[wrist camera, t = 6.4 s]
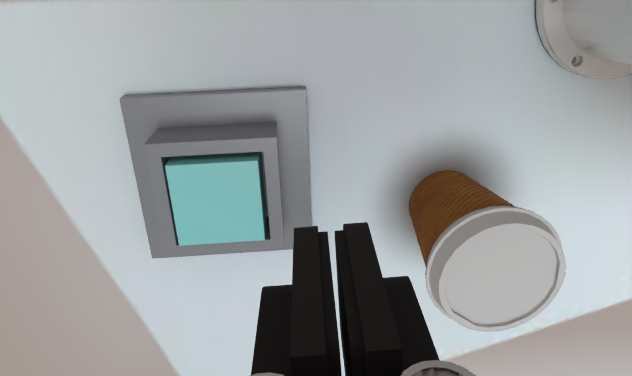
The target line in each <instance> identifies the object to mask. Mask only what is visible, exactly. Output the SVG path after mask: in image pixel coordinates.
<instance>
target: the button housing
mask: <svg viewBox="0 0 632 376" xmlns="http://www.w3.org/2000/svg"><path fill="white" fill-rule="evenodd" d="M120 103H121V108H122V113H123V118H124V123H125V128H126V133H127V138H128V142H129V147H130V152H131V157H132V162H133V167H134V172H135V177H136V181H137V186H138V191H139V196H140V201H141V206H142V211H143V215H144V220H145V225H146V230H147V235H148V240H149V245H150V250H151V254H152V258H168V257H183V256H198V255H213V254H228V253H243V252H258V251H273V250H286V249H293V245H294V228H298V227H312V222H311V198H310V174H309V150H308V126H307V102H306V88H305V87H291V88H270V89H249V90H228V91H208V92H187V93H166V94H145V95H124V96H123V97H122V98H120ZM246 152H261V162H262V174H263V185H264V197H265V209H266V228H265V240H259V241H244V242H229V243H214V244H198V245H183V246H179V242H178V237H177V231H176V225H175V220H174V214H173V208H172V202H171V197H170V191H169V185H168V180H167V174H166V168H165V165H166V164H167V162H168V161H169V159H170V157H173V156H191V155H209V154H227V153H246Z"/></svg>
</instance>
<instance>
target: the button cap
mask: <svg viewBox="0 0 632 376" xmlns="http://www.w3.org/2000/svg"><path fill="white" fill-rule="evenodd" d="M165 168H166V174H167V180H168V185H169V191H170V197H171V202H172V208H173V214H174V220H175V225H176V231H177V237H178V242H179V246H183V245H198V244H214V243H229V242H244V241H259V240H265V228H266V209H265V197H264V185H263V174H262V162H261V152H246V153H227V154H209V155H191V156H173V157H170V159H169V161H168V162H167V164H166V165H165Z"/></svg>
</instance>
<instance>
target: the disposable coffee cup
mask: <svg viewBox="0 0 632 376" xmlns="http://www.w3.org/2000/svg"><path fill="white" fill-rule="evenodd" d="M409 210H410V215H411V218H412V221H413V225H414V228H415V232H416V235H417V239H418V242H419V246H420V249H421V252H422V255H423V259H424V262H425V266H426V273H425V275H426V287H427V290H428V293H429V296H430V298H431V300H432V302H433V303H434V305H435V306H436V307H437V308H438V309H439V310H440V311H441V312H442V313H443V314H444V315H446V316H447V317H449V318H451V319H453V320H454V321H456V322H457V323H458V324H460V325H462V326H464V327H466V328H468V329H472V330H476V331H485V332H489V331H502V330H506V329H510V328H514V327H516V326H519V325H521V324H523V323H526V322H527V321H529V320H531V319H532V318H534V317H535V316H537V315H538V314H539V313H541V312H542V311H543V310H544V309H545V308H546V307H547V306H548V305H549V304H550V303H551V302H552V301H553V299H554V298H555V296H556V295H557V294H558V292H559V290H560V288H561V285H562V283H563V280H564V276H565V269H566V263H565V256H564V253H563V250H562V246H561V241H560V238H559V236H558V234H557V232H556V230H555V229H554V228H553V226H552V225H551V224H550V223H549V222H548V221H547V220H545V219H544V218H543V217H541V216H540V215H538V214H536V213H534V212H532V211H529V210H525V209H522V208H518V207H515V206H513V205H512V204H510V203H508V201H506V200H504V199H502V198H501V197H499V196H498V195H496V194H495V193H493V192H491V191H490V190H488V189H487V188H485V187H483V186H482V185H480V184H478V183H477V182H475V181H473V180H472V179H470V178H469V177H467V176H466V175H464V174H462V173H460V172H456V171H441V172H438V173H434V174H432V175H430V176H428V177H427V178H425V179H424V180H423V181H422V182H420V183H419V185H418V186H417V187H416V188H415V190H414V191H413V193H412V196H411V198H410V203H409Z"/></svg>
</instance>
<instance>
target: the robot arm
mask: <svg viewBox="0 0 632 376" xmlns="http://www.w3.org/2000/svg"><path fill="white" fill-rule="evenodd" d="M536 20H537V26H538V31H539V35H540V37H541V40H542V42H543V45H544V47H545V48H546V50H547V51H548V53H549V54H550V56H551V57H552V58H553V59H554V60H555V61H556V62H557V63H558V64H559V65H560V66H561V67H563V68H565V69H567V70H569V71H570V72H572V73H575V74H578V75H581V76H584V77H590V78H596V79H609V78H617V77H621V76H625V75H629V74H631V73H632V0H536ZM572 59H573V61H572ZM335 246H336V263H337V280H338V296H339V313H340V329H341V340H342V349H343V358H344V367H345V375H346V376H476V375H474V374H473V373H471V372H470V371H468V370H467V369H465V368H464V367H461V366H459V365H456V364H454V363H450V362H445V361H440V360H439V358H438V355H437V352H436V349H435V347H434V344H433V341H432V338H431V336H430V333H429V330H428V327H427V325H426V322H425V319H424V316H423V314H422V311H421V308H420V305H419V303H418V300H417V297H416V294H415V292H414V289H413V286H412V283H411V281H410V279H409V277H408V276H402V277H389V278H383V277H382V274H381V270H380V266H379V263H378V259H377V256H376V252H375V248H374V245H373V241H372V237H371V234H370V230H369V226H368V223H367V222H365V223H352V224H344V225H343V230H342V231H335ZM251 376H341V362H340V350H339V339H338V329H337V320H336V310H335V301H334V291H333V281H332V272H331V262H330V253H329V243H328V233H327V232H318V226H312V227H298V228H294V245H293V279H292V285H281V286H267V287H263V288H262V293H261V301H260V309H259V316H258V324H257V332H256V340H255V348H254V356H253V364H252V372H251Z"/></svg>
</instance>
